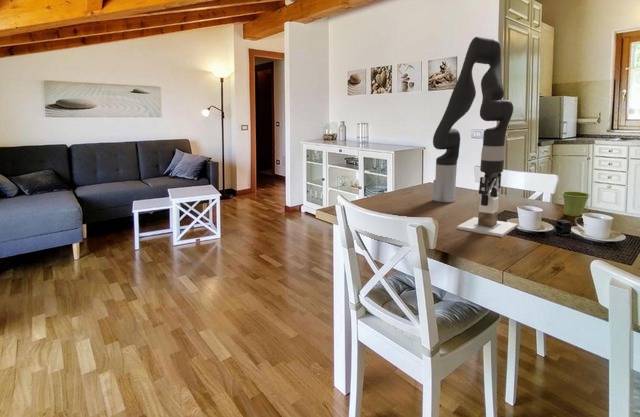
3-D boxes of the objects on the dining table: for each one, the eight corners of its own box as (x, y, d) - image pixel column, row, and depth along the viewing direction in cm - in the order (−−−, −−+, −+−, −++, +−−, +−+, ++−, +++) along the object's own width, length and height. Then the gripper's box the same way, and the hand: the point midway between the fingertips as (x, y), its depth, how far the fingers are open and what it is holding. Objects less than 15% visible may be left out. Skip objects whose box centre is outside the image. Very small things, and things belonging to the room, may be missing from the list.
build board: (457, 228, 153) (457, 225, 153) (474, 219, 164) (474, 216, 164) (502, 237, 142) (502, 233, 142) (517, 226, 154) (517, 223, 154)
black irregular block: (542, 229, 152) (543, 217, 151) (561, 228, 153) (562, 216, 151) (564, 239, 140) (566, 226, 139) (585, 238, 140) (586, 225, 139)
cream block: (478, 211, 152) (479, 198, 151) (484, 208, 155) (485, 195, 154) (493, 213, 148) (494, 199, 147) (497, 210, 152) (499, 197, 151)
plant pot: (591, 218, 163) (594, 196, 161) (564, 217, 164) (567, 196, 162) (581, 212, 172) (583, 191, 169) (556, 211, 173) (558, 191, 171)
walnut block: (477, 224, 153) (478, 211, 152) (483, 221, 157) (484, 208, 155) (491, 227, 150) (492, 213, 149) (496, 224, 153) (497, 210, 152)
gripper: (495, 161, 140) (492, 208, 144) (510, 157, 150) (506, 201, 154) (473, 160, 145) (470, 205, 149) (489, 155, 155) (485, 198, 159)
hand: (488, 203), depth 151 cm, fingers open, 8 cm apart
